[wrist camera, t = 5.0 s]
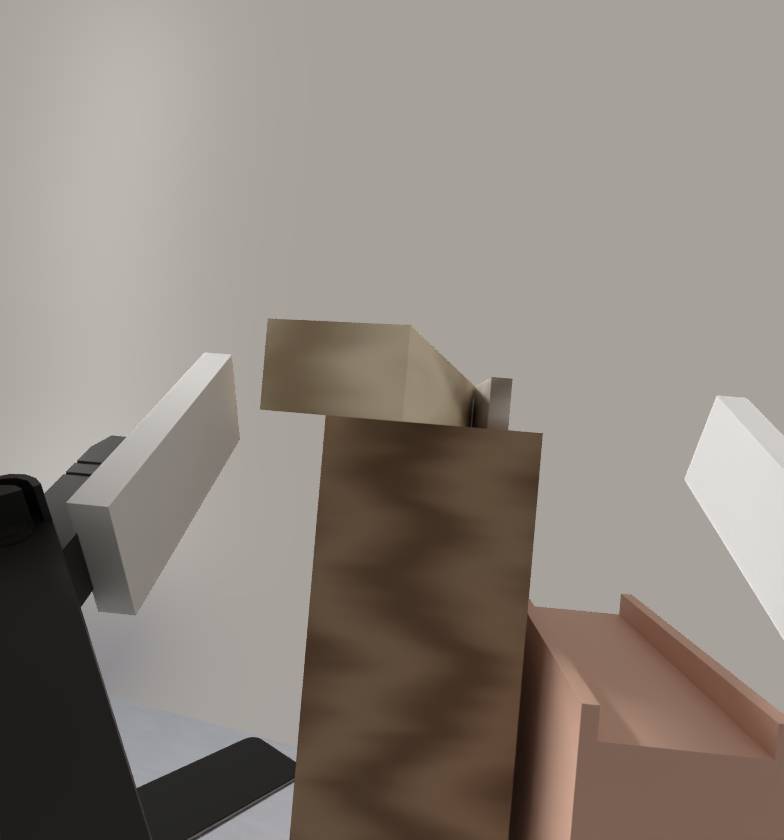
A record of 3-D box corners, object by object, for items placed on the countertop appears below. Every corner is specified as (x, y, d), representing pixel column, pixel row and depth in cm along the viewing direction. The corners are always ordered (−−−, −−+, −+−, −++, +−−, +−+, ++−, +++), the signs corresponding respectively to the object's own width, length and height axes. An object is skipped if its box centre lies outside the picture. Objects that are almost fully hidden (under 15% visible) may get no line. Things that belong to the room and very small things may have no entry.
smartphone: (308, 769, 48) (132, 869, 36) (307, 777, 48) (131, 880, 36) (253, 733, 52) (82, 811, 40) (253, 741, 52) (81, 821, 40)
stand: (264, 1132, 24) (330, 355, 24) (319, 867, 38) (361, 380, 38) (480, 1160, 23) (548, 373, 23) (454, 883, 37) (496, 391, 37)
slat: (260, 409, 16) (268, 318, 16) (407, 421, 36) (410, 382, 36) (402, 421, 15) (410, 325, 15) (471, 427, 35) (474, 386, 35)
